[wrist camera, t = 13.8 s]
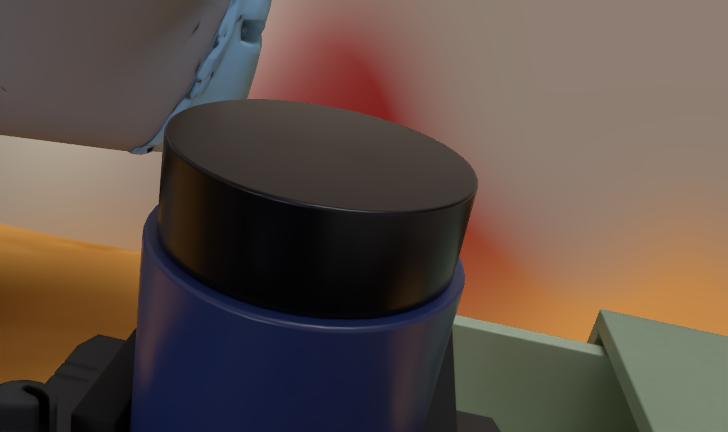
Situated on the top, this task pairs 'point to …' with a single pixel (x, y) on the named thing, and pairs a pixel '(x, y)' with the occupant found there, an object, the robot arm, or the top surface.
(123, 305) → the top surface
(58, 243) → the top surface
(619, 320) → the cabinet
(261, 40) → the robot arm
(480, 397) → the drawer
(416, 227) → the flask
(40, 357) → the top surface
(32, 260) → the top surface
